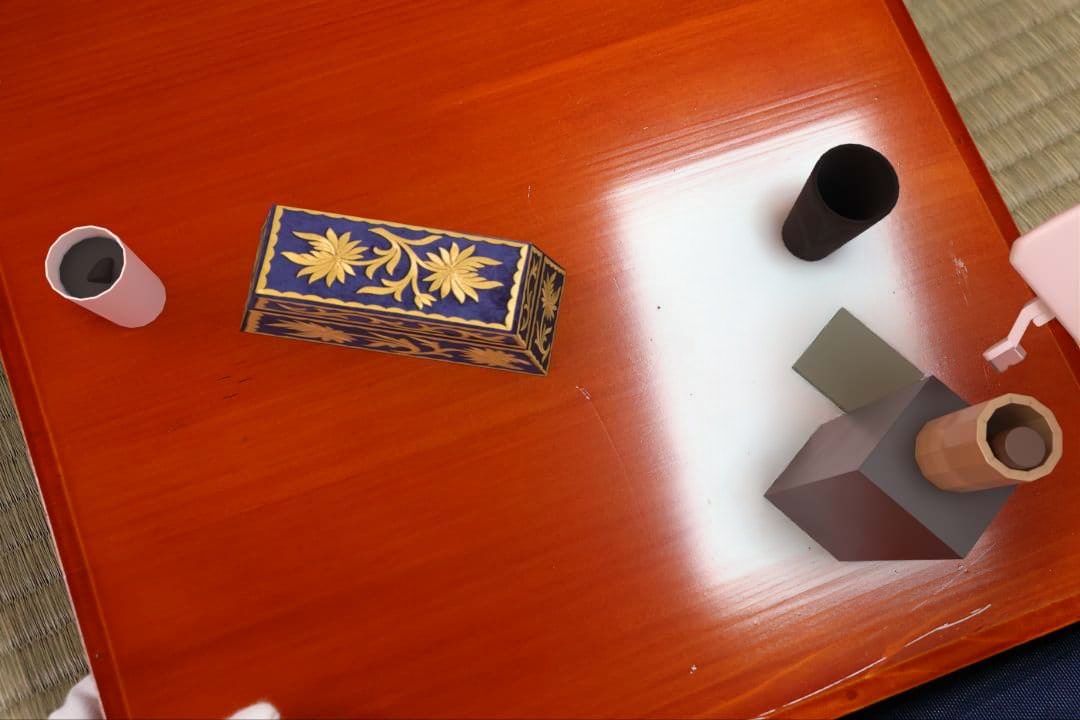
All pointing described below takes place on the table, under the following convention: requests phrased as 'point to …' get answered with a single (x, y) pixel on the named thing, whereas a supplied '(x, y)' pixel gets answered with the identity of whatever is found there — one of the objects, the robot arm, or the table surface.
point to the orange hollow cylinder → (984, 444)
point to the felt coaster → (854, 364)
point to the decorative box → (404, 290)
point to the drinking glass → (104, 277)
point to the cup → (840, 201)
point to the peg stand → (892, 482)
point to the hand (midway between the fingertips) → (1041, 424)
